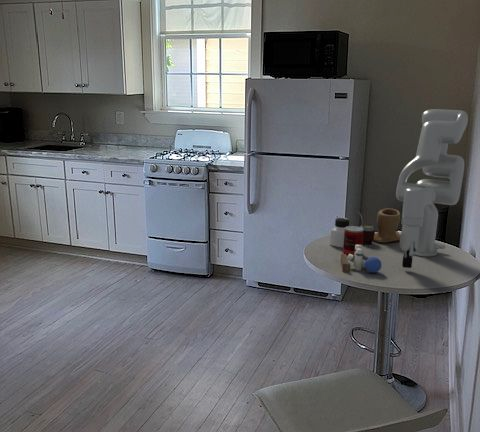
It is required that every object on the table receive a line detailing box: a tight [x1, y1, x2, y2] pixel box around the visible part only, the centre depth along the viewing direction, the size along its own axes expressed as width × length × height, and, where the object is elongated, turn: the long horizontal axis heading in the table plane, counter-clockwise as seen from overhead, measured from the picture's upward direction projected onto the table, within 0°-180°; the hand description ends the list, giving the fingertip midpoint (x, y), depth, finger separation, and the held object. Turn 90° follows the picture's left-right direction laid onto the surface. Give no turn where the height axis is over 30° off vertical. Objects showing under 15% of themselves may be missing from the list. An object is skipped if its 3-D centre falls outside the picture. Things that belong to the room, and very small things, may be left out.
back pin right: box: [353, 245, 363, 266], centre depth 199 cm, size 2×2×8 cm
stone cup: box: [373, 207, 401, 243], centre depth 232 cm, size 15×12×15 cm
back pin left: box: [354, 248, 364, 271], centre depth 194 cm, size 2×2×8 cm
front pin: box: [347, 254, 366, 269], centre depth 197 cm, size 2×2×8 cm
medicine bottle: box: [329, 217, 350, 249], centre depth 224 cm, size 7×7×12 cm
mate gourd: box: [356, 210, 376, 246], centre depth 227 cm, size 8×8×15 cm
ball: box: [364, 256, 382, 274], centre depth 192 cm, size 6×6×6 cm
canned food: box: [342, 225, 363, 256], centre depth 213 cm, size 8×8×11 cm
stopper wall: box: [340, 253, 349, 273], centre depth 198 cm, size 2×12×3 cm, turn 173°
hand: (406, 266), depth 195 cm, fingers closed
